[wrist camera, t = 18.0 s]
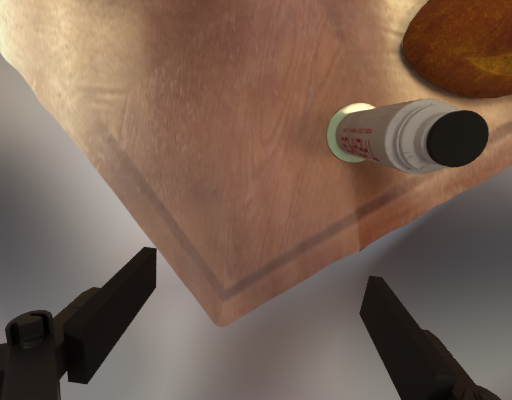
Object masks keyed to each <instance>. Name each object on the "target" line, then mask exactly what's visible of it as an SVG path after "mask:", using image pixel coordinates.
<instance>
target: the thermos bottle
mask: <svg viewBox="0 0 512 400" xmlns="http://www.w3.org/2000/svg"><path fill="white" fill-rule="evenodd" d="M488 136H489V133H488V126H487V123H486V122H485V120H484V119H483V118H482V117H481V116H480V115H479V114H477V113H475V112H473V111H467V110H462V111H461V110H459V109H458V108H456V107H454V106H451V105H449V104H446V103H445V102H443V101H440V100H437V99H420V100H415V101H409V102H404V103H399V104H394V105H388V106H383V107H378V108H372V109H367V110H362V111H357V112H353V113H350V114H348V115H346V116H345V117H344V118H343V119H342V120H341V121H340V122H339V124H338V126H337V128H336V132H335V138H336V142H337V145H338V146H339V148H340V149H341V150H342V151H344V152H345V153H347V154H350V155H353V156H356V157H359V158H362V159H366V160H369V161H372V162H375V163H378V164H381V165H384V166H387V167H391V168H394V169H397V170H400V171H402V172H406V173H410V174H424V173H428V172H431V171H437V170H441V169H444V168H446V167H460V166H464V165H466V164H469V163H471V162H472V161H474V160H475V159H476V158H477V157H478V156H479V155H480V154H481V153H482V152H483V150H484V148H485V146H486V144H487V141H488Z"/></svg>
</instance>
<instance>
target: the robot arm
mask: <svg viewBox="0 0 512 400" xmlns="http://www.w3.org/2000/svg"><path fill="white" fill-rule="evenodd" d="M156 252H157V248H149V247H144V248H143V249H142V250H141V251H140V252H138V253H137V254H136V255H135V256H134V257H133V258H132V259H131V260H130V261H129V262H128V263H127V264H126V265H125V266H124V267H123V268H122V269H121V270H120V271H118V273H116V274H115V275H114V276H113V277H112V278H111V279H110V280H109V281H108V282H107V283H106V284H105V285H104V286H103V287H102V288H96V287H92V288H90V289H89V290H87V291H85V292H83V293H81V294H80V295H79V296H78V297H77V298H76V299H75V300H74V301H72V302H71V303H70V304H69V305H68V306H67V307H65V309H63V310H62V311H61V312H60V313H59V314H57V315H56V316H55V317H54V318H52V314H51V313H50V312H48V311H46V310H36V311H30V312H27V313H24V314H21V315H20V316H18V317H16V318H14V319H13V320H12V321H10V322H9V323H8V324H7V326H6V328H5V332H6V337H7V343H4V344H0V400H61V395H60V381H59V380H60V379H61V377H62V376H63V375H64V374H65V373H66V371H67V372H68V382H75V383H82V384H88V382H89V381H90V379H91V378H92V377H93V375H94V374H95V372H96V371H97V370H98V368H99V367H100V365H101V364H102V363H103V361H104V360H105V358H106V357H107V356H108V354H109V353H110V351H111V350H112V349H113V347H114V346H115V344H116V343H117V341H118V340H119V339H120V337H121V336H122V334H123V333H124V332H125V330H126V329H127V327H128V326H129V325H130V323H131V322H132V320H133V319H134V318H135V316H136V315H137V313H138V312H139V310H140V309H141V308H142V306H143V305H144V303H145V302H146V301H147V299H148V298H149V296H150V295H151V294H152V292H153V291H154V289H155V288H156ZM360 316H361V318H362V320H363V322H364V324H365V326H366V328H367V330H368V332H369V334H370V336H371V339H372V340H373V343H374V345H375V347H376V349H377V351H378V353H379V355H380V357H381V359H382V361H383V363H384V365H385V367H386V369H387V371H388V373H389V375H390V378H391V380H392V381H393V384H394V386H395V388H396V390H397V392H398V394H399V396H400V398H401V400H501V399H500V398H499V397H497V395H495V394H494V393H492V392H490V391H489V390H487V389H485V388H483V387H481V386H477V385H476V384H475V383H474V382H473V380H472V379H471V378H470V377H469V375H468V374H467V373H466V372H465V371H464V369H463V368H462V367H461V366H460V364H459V363H458V362H457V361H456V359H455V358H453V356H452V354H451V353H450V352H449V351H448V350H447V349H446V347H445V346H444V345H443V344H442V342H441V341H440V340H439V339H438V338H437V337H436V336H435V335H434V334H432V333H431V332H430V331H429V330H423V329H421V328H420V327H419V325H418V324H417V323H416V321H415V320H414V319H413V318H412V316H411V315H410V314H409V312H408V311H407V310H406V308H405V307H404V306H403V304H402V303H401V302H400V300H399V299H398V298H397V296H396V295H395V294H394V292H393V291H392V290H391V289H390V287H389V286H388V285H387V283H386V282H385V281H384V279H383V278H382V277H376V276H369V280H368V283H367V287H366V291H365V295H364V298H363V302H362V306H361V310H360Z"/></svg>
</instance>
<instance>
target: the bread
mask: <svg viewBox="0 0 512 400" xmlns="http://www.w3.org/2000/svg"><path fill="white" fill-rule="evenodd" d="M402 49H403V51H404V53H405V56H406V58H407V59H408V61H409V62H410V63H411V64H412V66H413V67H414V68H415V69H416V70H417V71H418V72H419V74H420V75H422V76H423V77H425V78H426V79H428V80H429V81H430V82H432V83H434V84H436V85H438V86H440V87H442V88H444V89H446V90H448V91H450V92H453V93H457V94H461V95H465V96H468V97H474V98H497V97H501V96H505V95H509V94H512V0H429V1H428V2H427V3H426V4H425V5H424V6H423V7H422V8H421V9H420V11H419V12H418V13H417V14H416V16H415V17H414V18H413V20H412V21H411V22H410V24H409V26H408V28H407V31H406V33H405V36H404V38H403V47H402Z"/></svg>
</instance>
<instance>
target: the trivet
mask: <svg viewBox="0 0 512 400" xmlns="http://www.w3.org/2000/svg"><path fill="white" fill-rule="evenodd" d="M372 108H375V107H373V106H372V105H369V104H366V103H353V104H349V105H347V106H345V107H343V108H341V109H340V110H338V111H337V112H336V113H335V114H334V115H333V117H332V118H331V120H330V122H329V124H328V127H327V132H326V139H327V144H328V146H329V149H330V150H331V152H332V153H333V154H334V155H335V156H336V157H338V158H339V159H341V160H343V161H346V162H353V163H355V162H362V161H365V160H366V159H362V158H359V157H356V156H353V155H350V154H347V153H345V152H344V151H342V150H341V149H340V148H339V146H338V145H337V142H336V138H335V132H336V128H337V126H338V124H339V122H340V121H341V120H342V119H343V118H344V117H345V116H346V115H348V114H350V113H353V112H357V111H362V110H367V109H372Z"/></svg>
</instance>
